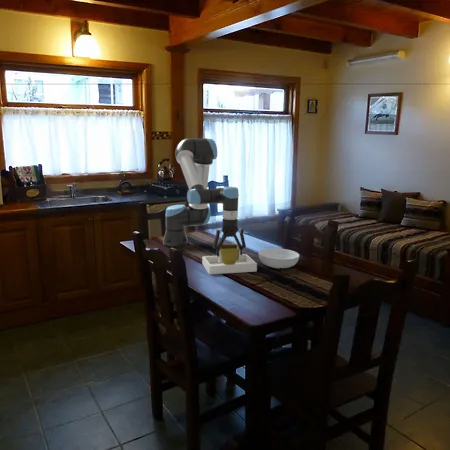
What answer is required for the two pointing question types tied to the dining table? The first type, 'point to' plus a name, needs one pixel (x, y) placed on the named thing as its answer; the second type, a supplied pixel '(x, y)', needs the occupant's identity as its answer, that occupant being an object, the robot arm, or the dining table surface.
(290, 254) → the serving bowl
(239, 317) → the dining table surface
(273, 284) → the dining table surface
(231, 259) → the flower pot
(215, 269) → the tray
